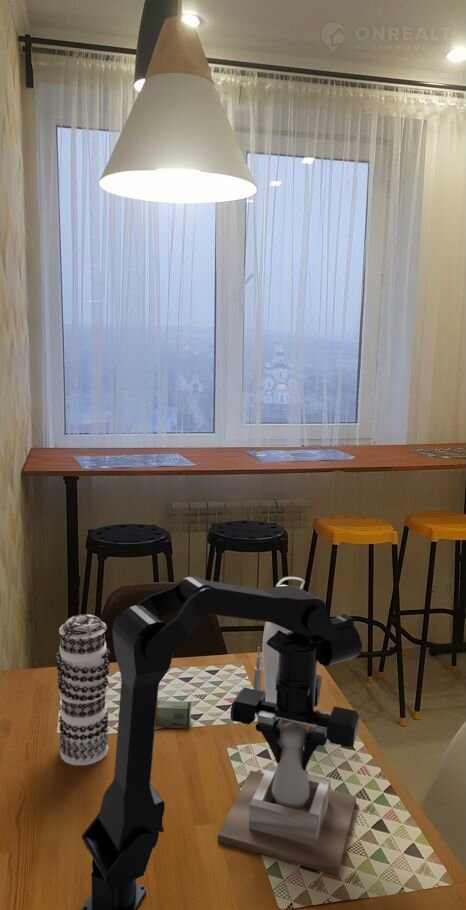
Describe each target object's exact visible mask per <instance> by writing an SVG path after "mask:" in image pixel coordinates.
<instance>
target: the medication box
mask: <svg viewBox="0 0 466 910" xmlns="http://www.w3.org/2000/svg"><path fill="white" fill-rule="evenodd" d="M191 725H192V702H191V701H178V700H177V701H173V700H157V709H156V721H155V726H163V727H176V726H177V727H179V728H181V727H182V728H189V727H191Z"/></svg>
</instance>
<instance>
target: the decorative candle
mask: <svg viewBox="0 0 466 910" xmlns="http://www.w3.org/2000/svg"><path fill="white" fill-rule="evenodd" d="M107 630H108V626H107V624H106V623H105V622H103V621H102V620H101V618H99V617H98V616H96V615H93V614H87V613H86V614H85V613H84V614H77V615H73V616H71V617H70V618H68V619H66V621H65V623H63V624H61V626H60V627H59V628H58V632H59V635H60V645H59V649H58V651H57V653H55V657H56V665H57V666H56V670H57V671H58V672H57V675H56V676H57V683H58V685H57V688H58V694H59V697H60V699H61V707H60V716H59V719H58V722H59V723H60V724H59V731H60V733H59V736H58V737H59V749H60V750H59V754H60V758H61V760H62V761H64V762H65V763H66V764H69V765H72V766H83V767H84V766H89V765H93V764H95V763H98V762H99V761H101V760H103V758H104V757H106V755H107V754H108V751H109V746H108V745H109V741H108V740H109V737H108V736H109V729H108V727H109V724H108V723H109V720H108V719H109V712H108V710H107V702H106V695H107V693H108V691H109V687H108V685H109V678H108V677H107V676H108V675H109V674H110V669H109V665H110V660H109V658H108V657H109V656H110V654H111V652H110V649H109V647H107V642H106V634H105V632H106V631H107Z"/></svg>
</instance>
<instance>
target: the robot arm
mask: <svg viewBox="0 0 466 910" xmlns="http://www.w3.org/2000/svg"><path fill="white" fill-rule="evenodd" d="M327 610H328V609H327V605H326V602H325V601H324V600H323V599H321V598H319V597H317V596H315V595H313V594H312V593H309V592H307V591H306V590H304V589H303V588H302V589H300V587H299V586H296V585H288V586H276V585H275V586H274V587H272V588H270V589H268V588H267V589H260V588H255V587H250V586H249V587H248V586H243V585H242V586H241V585H236V584H231V583H225V582H218V581H213V580H206V579H201V578H199V577H197V576H186V577H183V578H181V580H180V581H178V582H177V583H175V584H174V585H173V586H171V587H170V586H169V588H165V589H162V590H160V591H156V592H155V593H151V594H149V595H147V596H146V597H145V598H143V599H142V600H140V601H139V602H138V603H136V604H135V605H133V606H129V607H127V608H126V609H124V610H122V612H120V614H119V615H117V616H116V617H115V619H114V621H113V625H112V628H111V629H112V631H111V632H112V641H113V649H114V654H115V655H114V656H115V659H116V662H117V666H118V670H119V673H120V677H121V678H120V679H121V681H120V682H121V683H120V697H119V708H118V725H117V733H116V734H117V735H116V750H115V762H114V765H115V766H114V774H113V775H114V776H113V781H112V782H111V783H110V784H109V786H108V787H107V789H106V790H105V792H103V793H104V794H103V797H102V801H101V805H100V810H99V812H98V814H97V815H96V816H95V818H94V819H93V820H92V822H91V823H90V824H89V825H88V826H87V828H86V830H85V831H84V832H83V834H82V835H81V840H82V841H83V844H84V846H85V848H86V849H87V850H88V852H89V855H91V857H92V862H91V875H90V877H91V879H90V880H91V881H90V882H91V883H90V884H91V885H90V887H91V892H90V895H89V896H88V898H87V899H86V900H85V902H84V904H83V905H82V907H81V910H137V909H138V906H139V905H140V903H141V901H142V900H143V898H144V896H145V895H146V893H147V886H145V885H143V884H140V883H137V880H138V879H139V878H141V877H143V876H145V872H146V870H147V866H148V864H149V861H150V857H151V855H152V851H153V850H154V848H155V847H156V846H157V844H158V841H159V837H160V833H163V832H164V831H165V830H164V827H163V818H164V813H165V810H166V809H165V801H164V800H163V798H162V797H161V796H160V795H159V793H158V792H157V790H155V788H154V787H153V786H152V784H151V780H152V779H151V778H152V767H153V756H154V754H153V753H154V743H155V731H156V725H155V721H156V709H157V701H158V697H159V694H158V693H159V686H160V683H161V682H162V680H163V678H164V677H165V675H166V674H167V673H168V672H169V670H170V668H171V665H172V660H173V656H174V654H175V653H174V652H175V651H176V650H177V649H180V647H182V646H183V645H185V644H186V642H188V641H189V640H190V639H191V637H192V635H193V634H194V632H195V631H196V629H197V627H198V625H199V623H200V622H201V621H202V620H203V619H204V618H205V617H207V616H208V615H211V616H222V617H228V618H229V617H230V618H236V619H244V620H249V621H250V620H251V621H259V622H264V623H265V622H271V623H274V624H276V625H279V626H281V627H283V628H285V629H287V630H289V631H292V632H288V633H283V632H282V631H280V630H278V631H277V633H276V634H275V635H274V636H272V637H271V638H270V639H269V640H268V641H267V645H268V646H270V647H271V648H273V649H274V650H276V651H277V652H278V653H279V658H278V672H277V679H276V690H277V699H276V703H271V702H266V693H265V690H263V691H262V690H261V691H259V690H254V689H253V688H250V687H249V688H248V687H243V688H242V689H240V690H239V692H238V694H237V695H236V697H235V698H234V700H233V701H232V702H231V707H230V719H231V721H233V722H237V723H241V724H246V725H250V724H251V723H253V722H254V721H255V720H256V716H257V723H256V725H255V730H256V731H257V732H259V733H261V734H262V736H263V738H264V739H265V741H266V742H267V744H268V746H269V748H270V750H271V753H272V754H273V757H274V759H275V761H276V764H277V765H278V763H279V762H280V753H281V749H282V745H283V744H282V743H281V741H280V738H279V734H280V730H281V727H282V726H283V721H287V722H295V723H299V724H301V725H304V726H305V725H306V726H309V730H308V735H307V737H306V739H305V746H304V747H303V749H304V753H303V759H302V768H303V770H304V771H305V769H307V766H308V764H309V761H310V759H311V757H312V755H313V754H314V752H315V751H316V750H317V747H319V746H321V747H323V746H326V745H327V741H329V743H330V744H334V745H338V746H343V747H347V748H350V747H354V745H355V742H356V738H357V734H358V731H359V729H360V718H361V717H360V715H359V713H358V712H357V711H356V710H354V709H349V708H344V707H339V706H335V705H334V706H333V708H332V710H331V712H330V711H327V710H321V709H317V710H315V707H318V705H319V699H320V696H321V688H322V679H323V676H322V675H320V674H318V673H317V672H318V670H317V669H318V668H317V667H318V663H319V664H320V665H321V666H324V667H326V666H327V667H328V666H332V665H335V664H338V663H341V662H345V661H348V660H351V659H354V658H357V657H358V656H360V654H361V652H362V648H363V642H362V640H361V637H360V633H359V631H358V629H357V627H355V625H354V622H355V619H354V618H353V617H352V616H350V615H347V614H346V613H343V614H340V615H338V616H336V617H333V618H330V616H328V614H327V613H328V612H327ZM176 612H178V613H177V615H175V617H174V618H173V619H171V620H170V621H169V622H168V623H167V622H165V621H164V620H163V619H161V618H162V617H164V616H168V615H169V614H173V613H176Z"/></svg>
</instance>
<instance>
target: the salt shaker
mask: <svg viewBox="0 0 466 910" xmlns="http://www.w3.org/2000/svg"><path fill="white" fill-rule="evenodd" d="M308 732H309V730H308V729H307V728H306V727H305V725H304V724H300V723H295V722H291V721H289V722H287V723H285V724H282V727H281V730H280V734H279V738H280V741H281V743H282V744H283V745H282V749H281V753H280V762H279V763H278V764H277V770H276V774H275V778H274V782H273V787H272V794H273V796H274V799H275V801H276V804H277V805H281V806H285V807H289V808H292V809H296V810H301V809H303V807H304V806H305V804H306V802H307V800H308V798H309V792H310V789H309V782H308V776H307V774H308V771H307V768H306V769H305V771H304V770H303V768H302V759H303V753H304V746H305V739H306V737H307V735H308Z"/></svg>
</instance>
